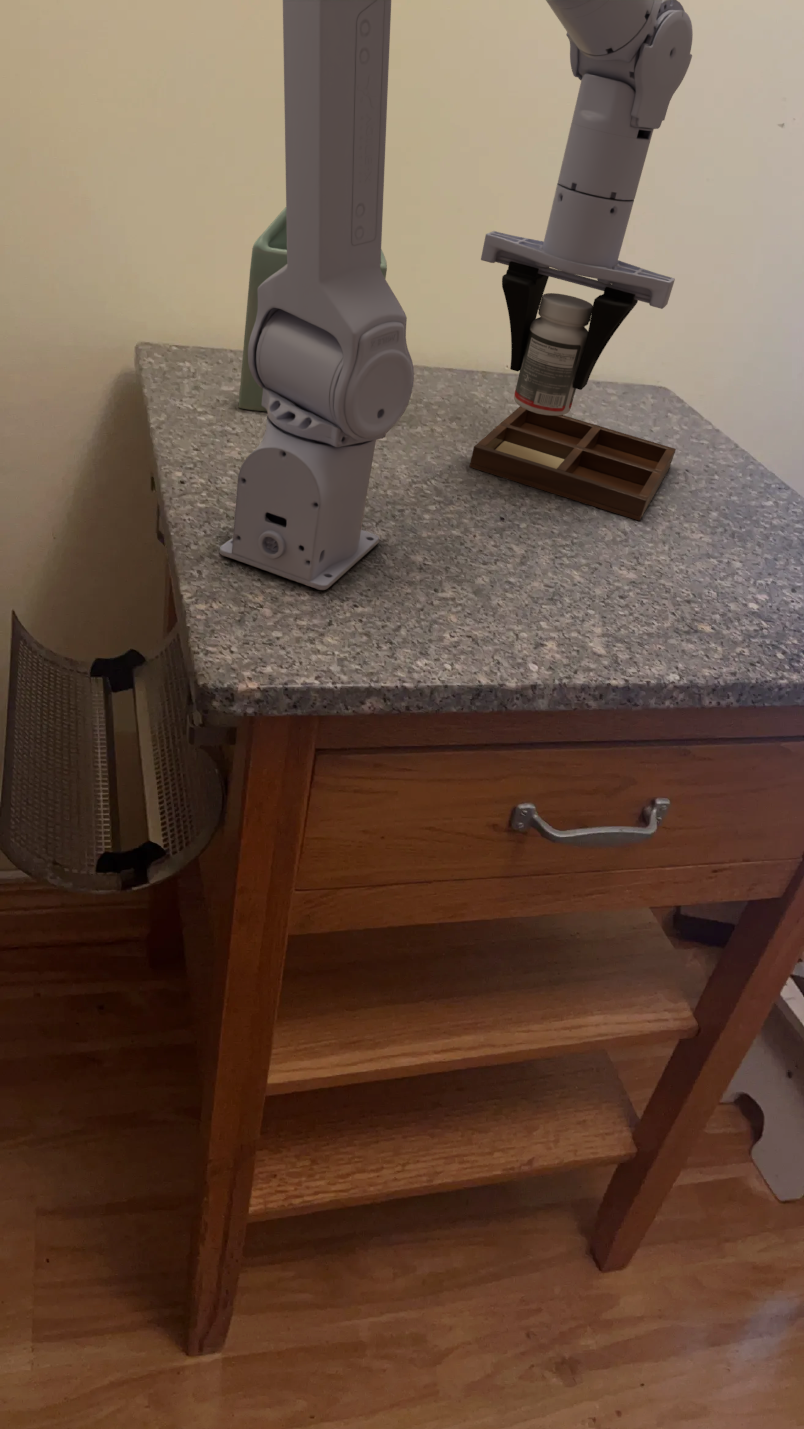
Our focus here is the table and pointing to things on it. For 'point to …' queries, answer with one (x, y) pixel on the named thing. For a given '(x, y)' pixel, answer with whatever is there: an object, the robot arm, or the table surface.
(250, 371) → the robot arm
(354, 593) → the table surface
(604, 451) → the tray
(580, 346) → the pill bottle
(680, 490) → the table surface
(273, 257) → the green tall open box
